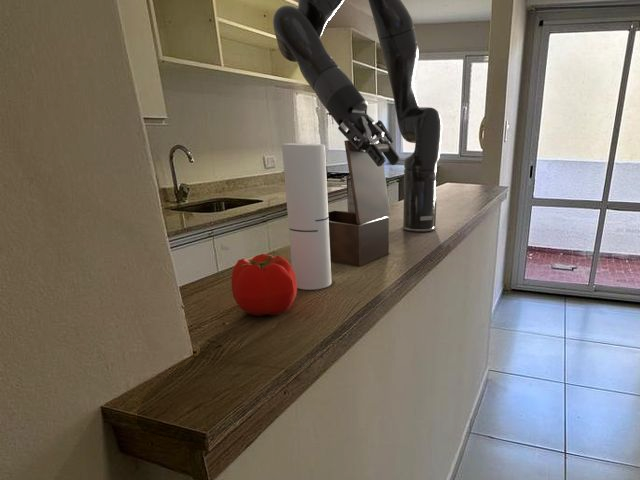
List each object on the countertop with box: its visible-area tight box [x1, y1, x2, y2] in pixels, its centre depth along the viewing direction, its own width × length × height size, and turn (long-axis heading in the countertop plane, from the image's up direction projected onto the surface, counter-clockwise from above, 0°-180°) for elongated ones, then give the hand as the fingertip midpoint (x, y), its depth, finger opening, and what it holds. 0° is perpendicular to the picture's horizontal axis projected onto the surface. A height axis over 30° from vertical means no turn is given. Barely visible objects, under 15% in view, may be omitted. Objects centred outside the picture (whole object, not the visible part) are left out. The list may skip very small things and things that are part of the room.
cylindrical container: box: [281, 142, 333, 291], centre depth 81 cm, size 7×7×25 cm
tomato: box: [230, 253, 298, 317], centre depth 71 cm, size 11×11×9 cm
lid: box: [344, 139, 391, 224], centre depth 95 cm, size 16×13×5 cm
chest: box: [328, 209, 390, 267], centre depth 104 cm, size 16×13×9 cm
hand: (389, 162), depth 92 cm, fingers closed on lid, 5 cm apart
